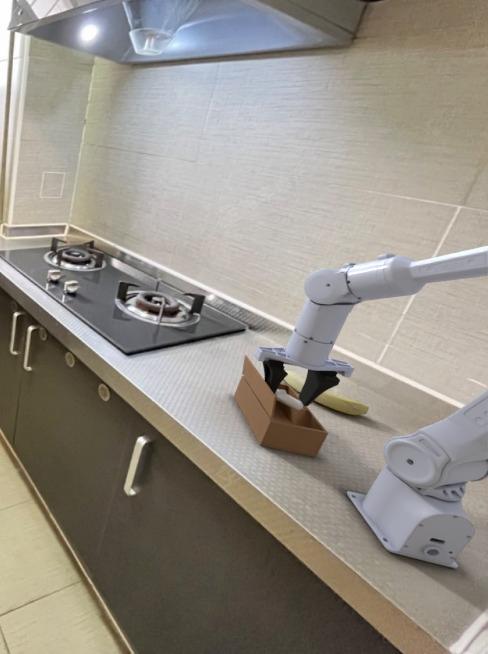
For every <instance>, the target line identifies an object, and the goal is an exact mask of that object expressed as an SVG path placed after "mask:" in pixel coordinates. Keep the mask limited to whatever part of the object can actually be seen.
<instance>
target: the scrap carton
mask: <svg viewBox="0 0 488 654" xmlns="http://www.w3.org/2000/svg"><path fill="white" fill-rule="evenodd" d="M278 389H279V390H281V389H284V390H286V394H288V395H290V396H291V397H293V398H295V399H297V400H299V395H298V393H297V391H296V390H295V389H294V388H293V387H291V386H290V385H289V384H288V383H282V382H281V383H280V385H279V386H278ZM233 399H234V401H235V402H236V404H237V406H238V408H239V409H240V412H241V413H242V415H243V417H244V419H245V420H246V423H247V425H248V426H249V428H250V429H251V432H252V433H253V435H254V437H255V439H256V441H257V442H258V444H259V446H263V447H266V448H271V449H276V450H280V451H285V452H290V453H294V454H297V455H298V454H299V455H303V456H308V457H312V458H317V456H318V454H319V452H320V450H321V448H322V447H323V445H324V443H325V440H326V439H327V437H328V435H329V432H328V431H327V430H326V428H325V427H324V426H323V425H322V423H321V422H320V421H319V419H317V417H316V416H315V415H314V413H313V412H312V410H311V409H309V406H304V405H303V408H302V409H301V410H299V411H297V410H294V409H292V408H291V407H289V406H287V405H285V404H283V403H282V402H280V401H277V400H276V404H275V409H274V414H273V418H271V417H270V416H269V414H268V413H267V411H266V410H265V408H264V407H263V405H262V403H261V402H260V400H259V399H258V397H257V396H256V394H255V393H254V391H253V389H252V388H251V386H250V385H249V383H248V382H247V380H246V379H245V377H244V375H242V376H241V377H240V379H239V383H238V385H237V387H236V390H235V392H234V395H233ZM299 401H300V400H299Z"/></svg>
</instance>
